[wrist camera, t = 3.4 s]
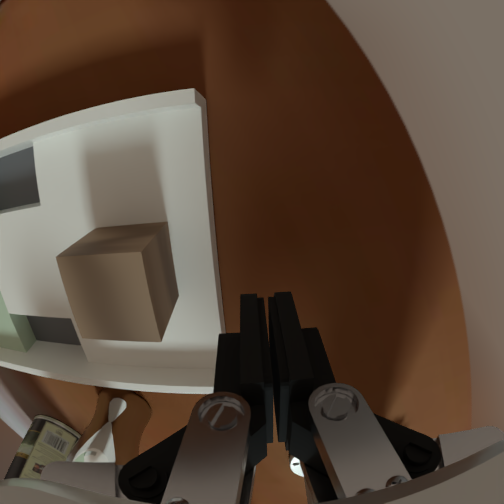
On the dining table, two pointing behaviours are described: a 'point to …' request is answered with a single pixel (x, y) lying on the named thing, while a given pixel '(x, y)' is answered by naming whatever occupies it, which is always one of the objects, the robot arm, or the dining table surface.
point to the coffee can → (42, 447)
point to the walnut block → (121, 282)
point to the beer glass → (113, 429)
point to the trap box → (105, 215)
